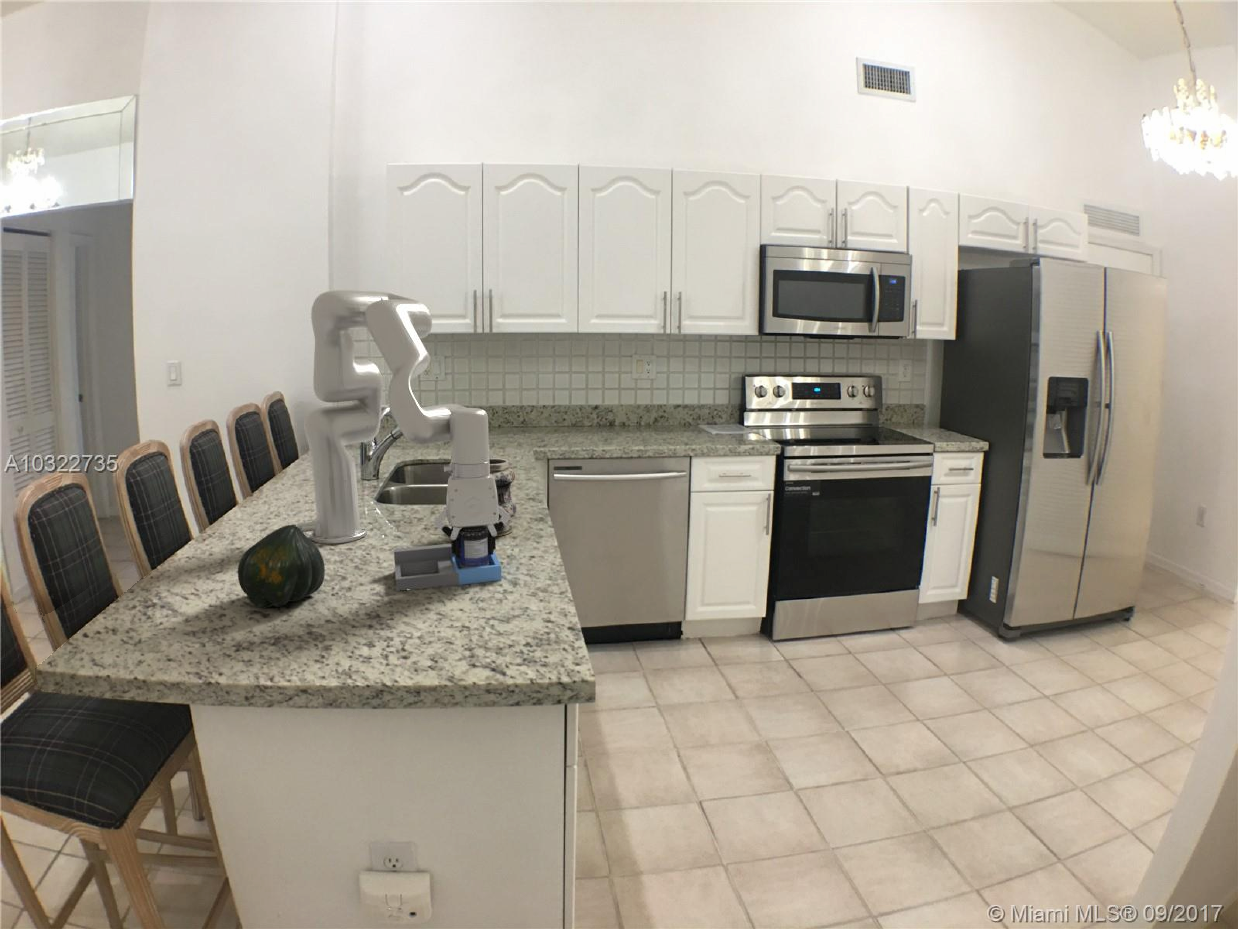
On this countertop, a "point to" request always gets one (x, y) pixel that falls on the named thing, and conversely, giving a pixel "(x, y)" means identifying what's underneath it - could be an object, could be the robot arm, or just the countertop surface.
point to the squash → (281, 568)
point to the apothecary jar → (503, 489)
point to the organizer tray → (439, 568)
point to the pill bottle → (473, 547)
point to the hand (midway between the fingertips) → (473, 553)
